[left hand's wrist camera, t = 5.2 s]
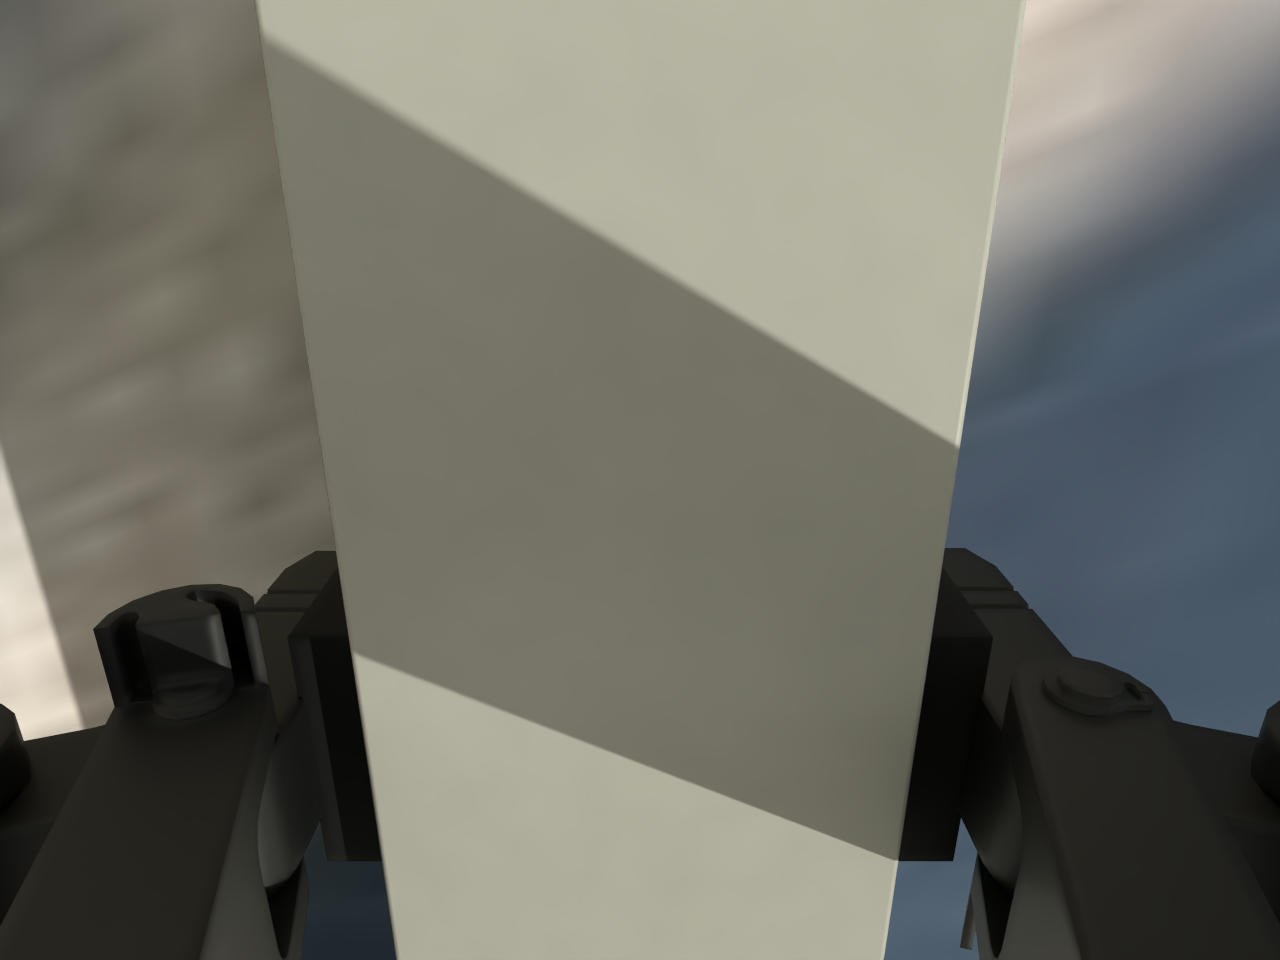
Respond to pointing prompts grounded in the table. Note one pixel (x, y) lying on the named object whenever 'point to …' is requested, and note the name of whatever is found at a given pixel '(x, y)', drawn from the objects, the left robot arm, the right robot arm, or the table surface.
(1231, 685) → the table surface
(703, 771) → the bar
